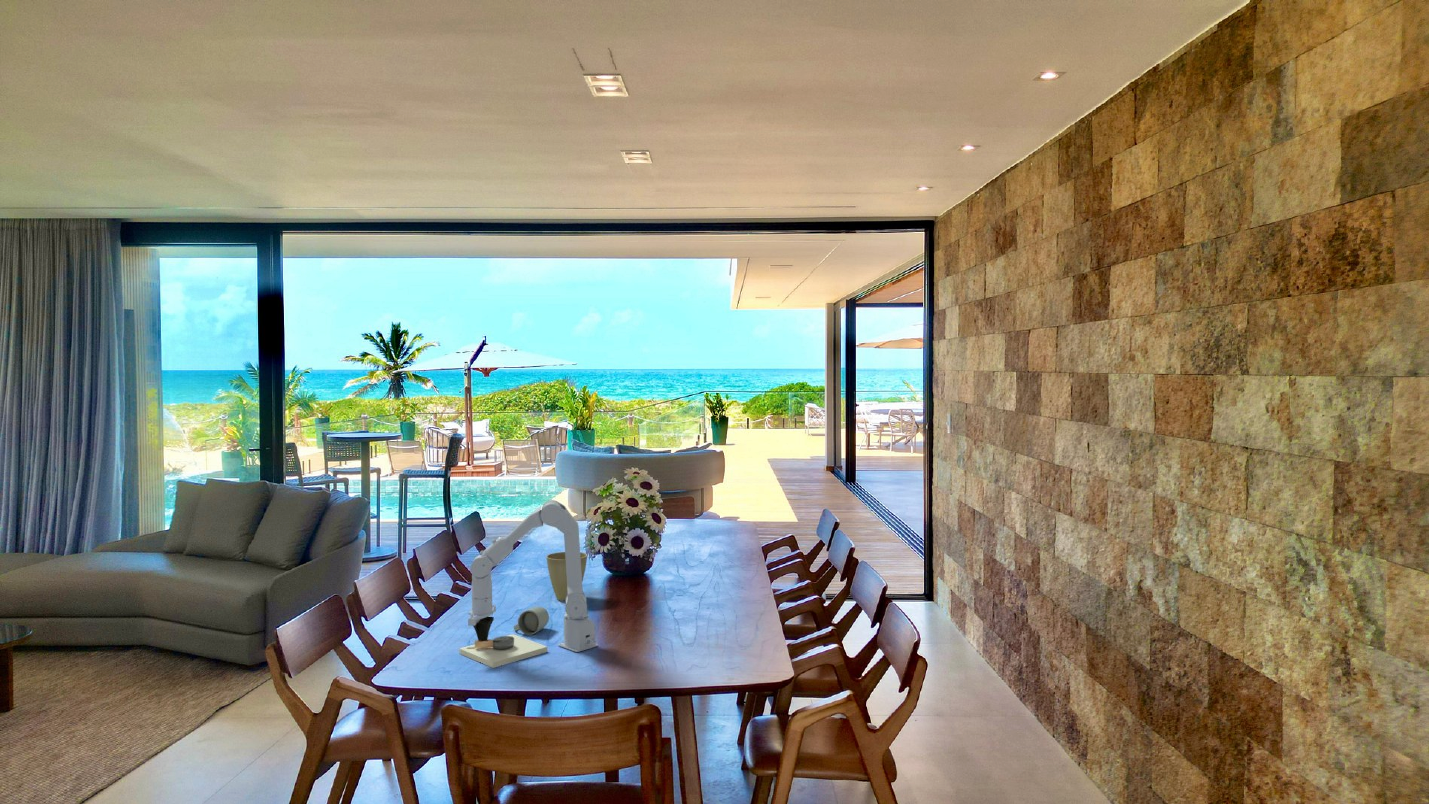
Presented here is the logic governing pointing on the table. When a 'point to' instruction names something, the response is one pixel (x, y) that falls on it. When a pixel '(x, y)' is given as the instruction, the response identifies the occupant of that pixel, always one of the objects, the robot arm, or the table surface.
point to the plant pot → (561, 573)
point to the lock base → (504, 652)
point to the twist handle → (496, 643)
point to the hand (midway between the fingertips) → (482, 643)
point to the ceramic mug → (532, 620)
